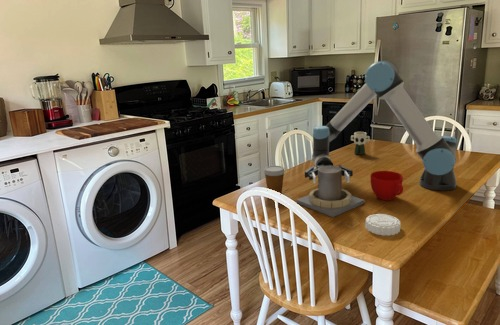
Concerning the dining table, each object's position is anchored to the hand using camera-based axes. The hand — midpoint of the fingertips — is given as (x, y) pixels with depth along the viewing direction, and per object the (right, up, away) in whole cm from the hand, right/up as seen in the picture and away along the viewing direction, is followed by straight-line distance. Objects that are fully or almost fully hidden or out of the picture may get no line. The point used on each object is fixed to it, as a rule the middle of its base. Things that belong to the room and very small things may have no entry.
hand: (331, 180), depth 155 cm
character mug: (+33, +12, +77) cm, 84 cm away
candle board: (+1, -10, +6) cm, 12 cm away
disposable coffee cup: (-22, -7, +20) cm, 31 cm away
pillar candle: (0, -9, +6) cm, 11 cm away
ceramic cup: (+26, -9, +8) cm, 28 cm away
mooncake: (+15, -17, -17) cm, 28 cm away
